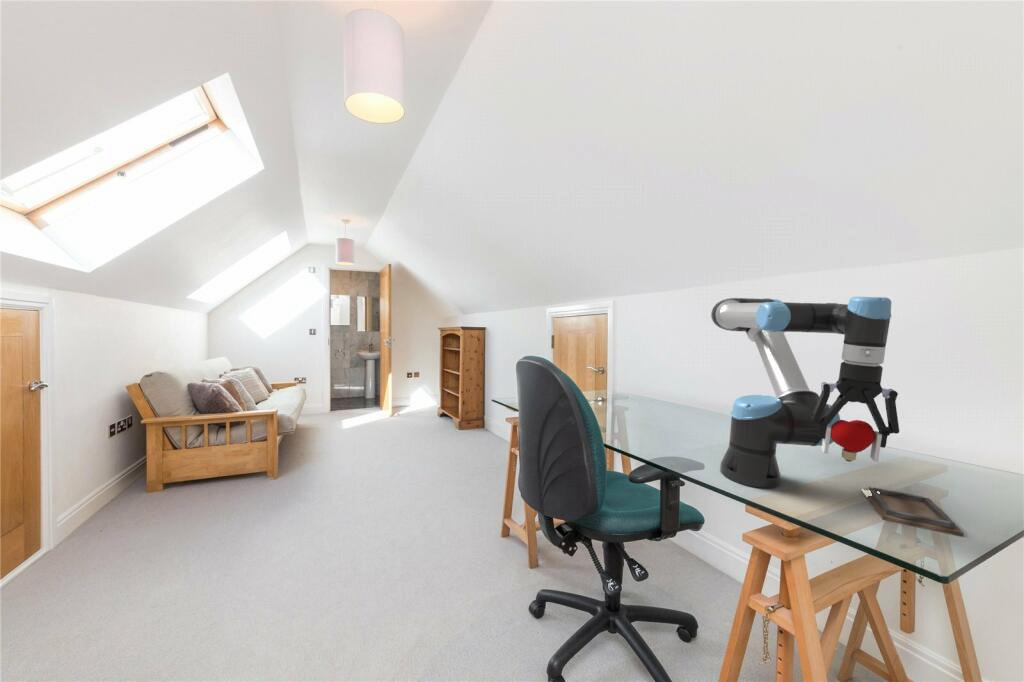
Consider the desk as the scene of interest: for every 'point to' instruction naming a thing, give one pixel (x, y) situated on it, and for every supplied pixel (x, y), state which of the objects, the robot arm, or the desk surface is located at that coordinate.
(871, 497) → the dark wooden picture frame
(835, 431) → the red heart on stub
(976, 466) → the desk surface
